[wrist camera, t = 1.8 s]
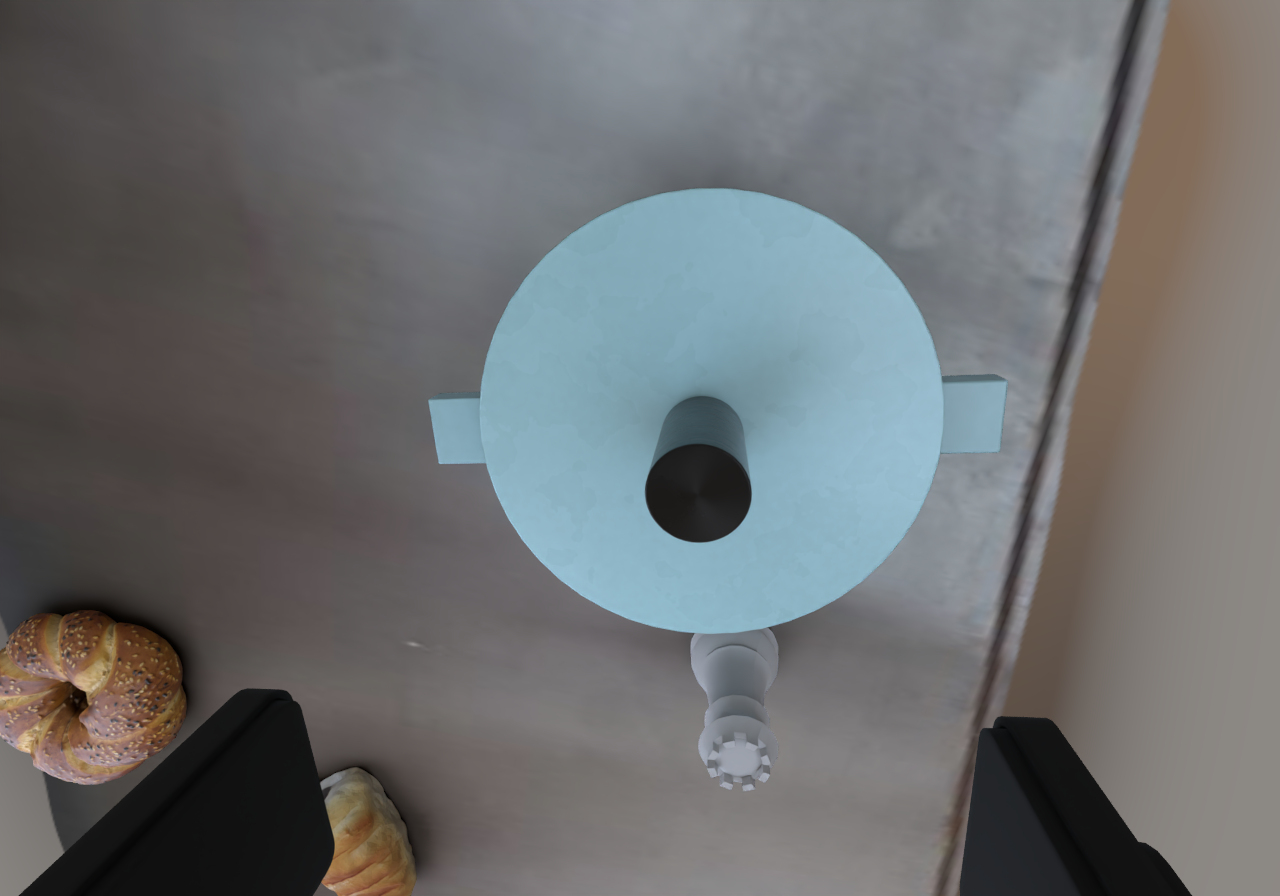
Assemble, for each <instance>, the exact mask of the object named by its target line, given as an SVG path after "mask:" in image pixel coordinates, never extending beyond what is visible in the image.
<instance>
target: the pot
mask: <svg viewBox="0 0 1280 896" xmlns="http://www.w3.org/2000/svg"><path fill="white" fill-rule="evenodd" d="M942 383H943V390H944V398H945V401H944V433H943V439H942V445H941V452H940V454H949V453H997V452H1000V447H1001V439H1002V430H1003V422H1004V413H1005V404H1006V396H1007V387H1008V380H1006V379H1004V378H1002V377H1000V376H998V375H995V374H985V375H957V376H942ZM480 395H481V392H461V393H440V394H438V395H436V396H434V397H432V398H431V399H429V407H430V413H431V419H432V425H433V431H434V437H435V444H436V450H437V456H438V462H439V464H465V463H486V459H485V455H484V450H483V445H482V439H481V426H480Z"/></svg>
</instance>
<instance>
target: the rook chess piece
mask: <svg viewBox="0 0 1280 896" xmlns="http://www.w3.org/2000/svg"><path fill="white" fill-rule="evenodd" d="M778 649H779V647H778V644H777V642H776V639H775V636H774V634H773V632H772V631H771V630H770V629H769V628H768V627H767V628H763V629H756V630H750V631H744V632H737V633H717V634H703V633H695V634H694V636H693V638H692V640H691V654H690V655H691V657H692V658H691V667H692V669H693V672H694V674H695V676H696V678H697V681H698V683H699V684H700V685H701V686H702V687H703V689H704V691H705V692H706V693H707V697H708V702H709V708H708V710H707V711H706V713H705V726H706V727H705V729H704V731H703V732H702V734H701V736H700V737H699V750H698V751H699V753H700V755H701V757H702V760H703V762H704V763H705V764H706V765H707V769H708V771H709V773H710V776H711V778H713V777H715V776H717V775H718V776H720V786H722V787H724V788H727V789H729V790H731V789H732V786H733V782H742V786H743V792H744V791H749V790H753V789H755V779H757V778H758V777H759V780H761V781H762V782H764V783H765V782H766V780H767V779H768V777H769V776H770V769H771V767H772V766H773V764H774V763H775V761H776V760H777V758H778V747H779V745H778V742H777V740H776V738H775V735H774V733H773V732H772V731H771V730H770V729H769V727H770V718H769V716H768V713H767V711H766V709H765V708H764V696H765V694H766V692H767V690H768V689H769V688H770V686H771V685H772V683H773V681H774V680H775V678H776V676H777V673H778V662H779V657H778Z"/></svg>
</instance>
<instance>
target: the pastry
mask: <svg viewBox="0 0 1280 896" xmlns="http://www.w3.org/2000/svg"><path fill="white" fill-rule="evenodd" d="M320 785H321V789H322V793H323V797H324V801H325V805H326V809H327V813H328V817H329V821H330V824H331V828H332V832H333V836H334V841H335V851H334V856H333V860H332V863H331V866H330V868H329V870H328V872H327V874H326V875H325V877H324V878H323V880H322V883H323V884H324V885H325V886H326V887H327V888H329V889H330V890H333V891H335V892H336V893H337V895H338V896H411V894H412V891H413V888H414V886H415V883H416V880H417V873H416V867H415V857H414V856H413V854H412V846H411V845H410V844H409V841H408V837H407V827H406V825H405V823H404V822H403V821H402V820H401V817H400V815H399V812H398V810H397V809H396V808H395V806H394V805H393V803H392V801H391V800H389V799H388V798H387V797H386V795H385V793H384V789H383V787H382V786H381V784H380V783H379V781H378V780H377V779H376V778H375V777H373V776H372V775H370V774H368V773H367V772H366V771H364V770H362V769H359V768H358V767H355V768H349V769H346V770H344V771H341V772H337V773H334V774H333V775H332V776H330V777H328V778H326V779H325V780H323V781H322V782H321V783H320Z"/></svg>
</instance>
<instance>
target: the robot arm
mask: <svg viewBox="0 0 1280 896" xmlns="http://www.w3.org/2000/svg"><path fill="white" fill-rule="evenodd" d="M334 851H335V841H334V836H333V832H332V828H331V824H330V821H329V817H328V813H327V809H326V805H325V801H324V797H323V793H322V789H321V785H320V781H319V777H318V773H317V769H316V765H315V761H314V757H313V753H312V749H311V745H310V741H309V737H308V733H307V729H306V725H305V721H304V718H303V714H302V710H301V707H300V705H299V704H298V703H297V702H296V701H293V699H292V697H291V695H290V694H289V693H288V692H287V691H285V690H275V689H248V688H247V689H244V690H241V691H239V692H238V693H236V694H235V695H234V696H233V697H232V698H230V699H229V700H228V701H227V702H226V703H225V704H224V705H223V706H222V707H221V708H220V709H219V710H218V711H216V712H215V713H214V714H213V715H212V716H211V717H210V718H209V719H208V720H207V721H206V722H205V723H204V724H203V725H201V726H200V727H199V728H198V729H197V730H196V731H195V732H194V733H193V734H192V735H191V736H190V737H189V738H187V739H186V740H185V741H184V742H183V743H182V744H181V745H180V746H179V747H178V748H177V749H176V750H175V751H174V752H172V753H171V754H170V755H169V756H168V757H167V758H166V759H165V760H164V761H163V762H162V763H161V764H160V765H158V766H157V767H156V768H155V769H154V770H153V771H152V772H151V773H150V774H149V775H148V776H147V777H146V778H145V779H143V780H142V781H141V782H140V783H139V784H138V785H137V786H136V787H135V788H134V789H133V790H132V791H131V792H129V793H128V794H127V795H126V796H125V797H124V798H123V799H122V800H121V801H120V802H119V803H118V804H117V805H116V806H114V807H113V808H112V809H111V810H110V811H109V812H108V813H107V814H106V815H105V816H104V817H103V818H102V819H100V820H99V821H98V822H97V823H96V824H95V825H94V826H93V827H92V828H91V829H90V830H89V831H88V832H87V833H85V834H84V835H83V836H82V837H81V838H80V839H79V840H78V841H77V842H76V843H75V844H74V845H73V846H72V847H70V848H69V849H68V850H67V851H66V852H65V853H64V854H63V855H62V856H61V857H60V858H59V859H58V860H56V861H55V862H54V863H53V864H52V865H51V866H50V867H49V868H48V869H47V870H46V871H45V872H44V873H43V874H41V875H40V876H39V877H38V878H37V879H36V880H35V881H34V882H33V883H32V884H31V885H30V886H29V887H28V888H26V889H25V890H24V891H23V892H22V893H21V894H20V895H19V896H313V894H314V893H315V891H316V890H317V888H318V886H319V885H320V883H321V882H322V880H323V878H324V877H325V875H326V874H327V872H328V870H329V868H330V866H331V863H332V860H333V856H334ZM960 896H1192V895H1191V894H1190V892H1189V891H1188V889H1187V888H1186V887H1185V885H1184V884H1183V883H1182V881H1181V880H1180V878H1179V877H1178V876H1177V874H1176V873H1175V872H1174V870H1173V869H1172V868H1171V866H1170V865H1169V864H1168V863H1167V861H1166V860H1165V859H1164V858H1163V857H1162V856H1161V855H1160V853H1159V852H1158V851H1157V850H1155V849H1154V848H1152V847H1151V846H1149V845H1148V844H1146V843H1142V842H1138V841H1137V839H1136V838H1135V836H1134V835H1133V834H1132V832H1131V831H1130V829H1129V828H1128V827H1127V825H1126V824H1125V822H1124V821H1123V819H1122V818H1121V817H1120V815H1119V814H1118V812H1117V811H1116V809H1115V808H1114V807H1113V805H1112V804H1111V802H1110V801H1109V800H1108V798H1107V797H1106V795H1105V794H1104V792H1103V791H1102V790H1101V788H1100V787H1099V785H1098V784H1097V783H1096V781H1095V780H1094V778H1093V777H1092V775H1091V774H1090V772H1089V771H1088V770H1087V768H1086V767H1085V765H1084V764H1083V763H1082V761H1081V760H1080V758H1079V757H1078V755H1077V754H1076V752H1075V751H1074V750H1073V748H1072V747H1071V745H1070V744H1069V743H1068V741H1067V740H1066V738H1065V737H1064V735H1063V734H1062V733H1061V731H1060V730H1059V728H1058V727H1057V726H1056V725H1055V724H1054V722H1053V721H1051V720H1049V719H1047V718H1032V717H1031V718H1030V717H1005V716H1001V717H997V719H996V720H995V722H994V726H993V728H983V729H982V730H981V732H980V736H979V742H978V750H977V757H976V765H975V773H974V780H973V788H972V795H971V803H970V811H969V818H968V826H967V833H966V841H965V849H964V856H963V864H962V872H961V879H960Z"/></svg>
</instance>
